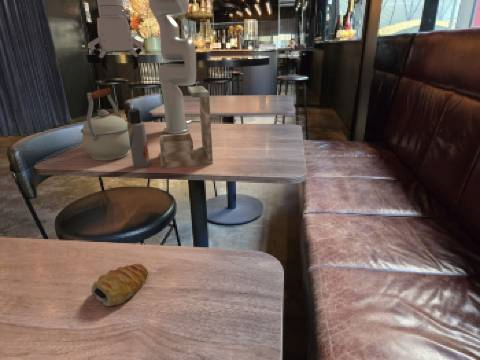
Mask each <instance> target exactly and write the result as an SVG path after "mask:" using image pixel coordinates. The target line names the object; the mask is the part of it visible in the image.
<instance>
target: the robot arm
mask: <svg viewBox="0 0 480 360" xmlns="http://www.w3.org/2000/svg"><path fill="white" fill-rule="evenodd" d="M96 2H97V9H98V15H99V17H97V18H96V21H97V23H96V24H97V26H96V27H97V36H98V37H96V38H95V39H93V40H92V41H90V42H88V43H87V46H88V47H89V49H90V50H91V52H92V53H93V54H94V55H96V56H97V57H98V58H99V62H100V68H101V69H103V71H105V72H107V71H108V66H107V61H106V58H105V56H106V54H107V52H128V53H130V54H129V55H131V57H130V58H131V65H132V69H133V70H138V67H139V64H138V56H139V55H140V53H142V49H143V46H144V43H143V42H142V41H140V40H138V39H136V38H134V37H132V32H131V28H130V24H129V21H128V18H127V17H125V16H126V15H129V9H125V7H124V3H123V0H96ZM189 4H190V3H189V0H148V6H149V9H150V11H151V13H152V14H153V16H154V18H155V20H156V21H157V24H158V26H159V27H158V28H159V33H160V53H161V57H162V60H163V59H164V60H165V61H168V62H184V63H165V64H162V65H160V67H159V68H158V70H157V75H158V78H159V82H160V87H161V92H162V98H163V99H162V100H163V109H164V118H165V125H166V126H165V128H163V133H165V134H168V135H173V134H185V133H187V132H189V130H190V127H189V126H188V125H192V124H193V122H192V120H191V119H189V120H186V116H185V104H184V94H183V92H182V90H181V88H180V87H179V86H193V85H194V84H195V83H196V81H197V51H196V45H195V43H194V41H193V40H192V39H190V38H180V27H179V25H178V24H177V22H176V20H175V19H174V18H173V16H184V15H186V14H187V13H188V11H189V8H190V5H189ZM97 44H99V48H100V51H98V50H97V49H96V47H95V46H96V45H97ZM134 44H135V45H137V48H136V50H134Z"/></svg>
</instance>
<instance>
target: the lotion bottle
mask: <svg viewBox="0 0 480 360" xmlns="http://www.w3.org/2000/svg"><path fill="white" fill-rule="evenodd" d="M127 115H128V122H127V128H128V135H129V141H130V147H131V148H130V152H131V153H130V154H131V159H132V164H133V167H134V168H137V169H143V168H147V167H149V166H150V165H151V162H150V161H151V160H150V154H149V146H148V139H147V133H146V132H147V131H146V127H145V126H146V125H145V122H143V121H142V117H141V111H140V109H139V108H136V107H133V108H131V109H127Z"/></svg>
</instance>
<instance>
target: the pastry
mask: <svg viewBox="0 0 480 360" xmlns="http://www.w3.org/2000/svg"><path fill="white" fill-rule="evenodd" d="M147 276H148V277H149V271H148V269H147V267H146V266H144V265H143V264H142V263H133V264H130V265H128V264H127V265H124V266H123V267H122V266H119V267H117V268H116V269H110V270H108V272H107V273H106V274H101V275H100V276H99V278H98V279H97V280H96V281H94V282H93V284H92V286H91V288H90V290H91V294H92V295H93V296H94V297H95V296H96V297H95V299H96V300H97V301H98V302H100V303H103V305H104V306H106V307H114V305H116V306H119V304H120V305H122V304H124V303H125V302H126V301H127V300H128V299H131V298H132V297H133V296H134V295H133V294H134V293H135V292H136V291H137V290H138V289H139V288H140V287H141V286H142V284H143V283H144V282H145V280H146V279H147V280H148V278H147ZM145 283H146V282H145ZM142 287H143V286H142ZM142 287H141V288H142ZM141 288H140V289H141ZM140 289H139V290H140ZM139 290H138V291H139ZM138 291H137V292H138ZM137 292H136V293H137ZM136 293H135V294H136ZM132 295H133V296H132ZM131 296H132V297H131ZM130 297H131V298H130ZM123 302H124V303H123ZM121 303H122V304H121Z"/></svg>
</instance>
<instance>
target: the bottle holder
mask: <svg viewBox="0 0 480 360" xmlns="http://www.w3.org/2000/svg"><path fill="white" fill-rule="evenodd" d="M187 92H188V93H189V94H190V97H192V98H198V99H199V115H200V132H201V143H202V146H201V147H200V146H199V147H194V141H193V138H192V134H191V132H189V133H187V132H185V133H178V134H164V135H163V134H162V135H159V147H160V169H169V168H170V169H172V168H179V167H180V168H181V167H191V166H202V165H211V164H213V163H214V162H213V161H214V159H213V142H212V141H213V140H212V123H211V121H212V120H211V103H210V92H209V90H208V89H206V87H204V86H203V85H199V86H198V85H197V86H196V85H195V86H193V85H192V86H187Z"/></svg>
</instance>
